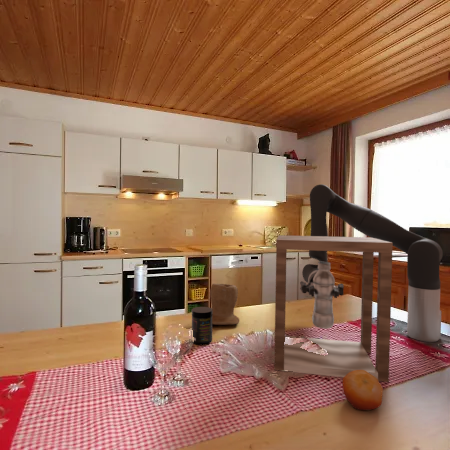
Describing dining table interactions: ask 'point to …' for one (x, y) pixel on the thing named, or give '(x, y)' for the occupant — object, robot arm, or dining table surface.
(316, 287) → the plastic bottle
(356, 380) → the fruit
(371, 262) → the walnut shelf
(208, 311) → the supplement container
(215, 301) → the brown ankle boot
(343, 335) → the dining table surface
